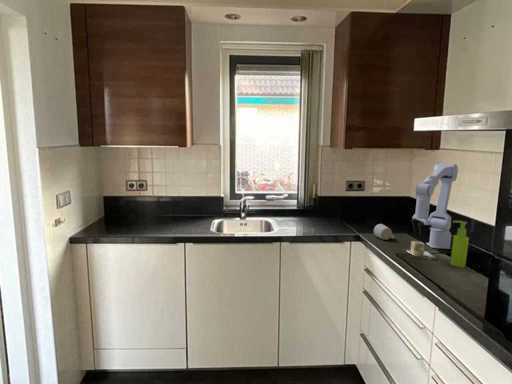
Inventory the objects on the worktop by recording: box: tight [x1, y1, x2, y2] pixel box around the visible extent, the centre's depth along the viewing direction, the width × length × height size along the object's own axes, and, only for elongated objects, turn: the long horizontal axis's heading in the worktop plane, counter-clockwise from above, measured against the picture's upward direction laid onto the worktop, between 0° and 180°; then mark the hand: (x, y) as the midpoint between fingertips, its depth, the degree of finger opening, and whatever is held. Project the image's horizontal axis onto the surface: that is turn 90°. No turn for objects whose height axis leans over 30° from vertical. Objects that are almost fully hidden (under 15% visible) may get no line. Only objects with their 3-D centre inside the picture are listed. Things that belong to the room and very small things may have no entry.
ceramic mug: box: [373, 223, 395, 241], centre depth 192 cm, size 11×8×8 cm
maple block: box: [409, 240, 426, 256], centre depth 164 cm, size 4×4×6 cm
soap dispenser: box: [450, 220, 470, 268], centre depth 151 cm, size 6×7×20 cm
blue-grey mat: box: [405, 249, 435, 258], centre depth 165 cm, size 14×12×1 cm
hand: (419, 236), depth 163 cm, fingers open, 7 cm apart
